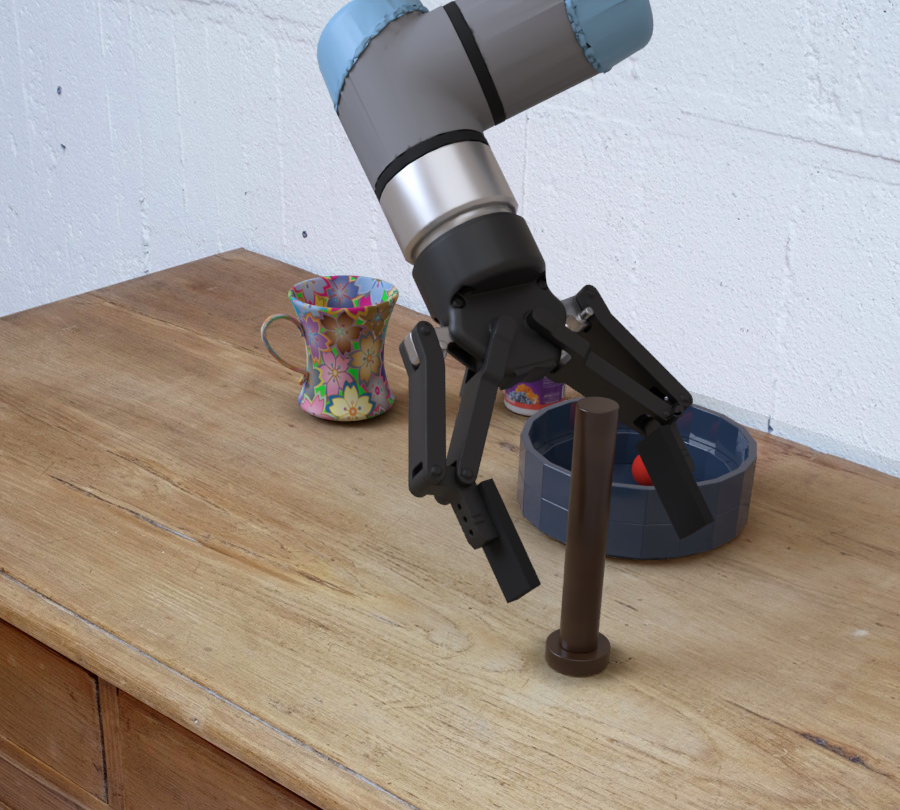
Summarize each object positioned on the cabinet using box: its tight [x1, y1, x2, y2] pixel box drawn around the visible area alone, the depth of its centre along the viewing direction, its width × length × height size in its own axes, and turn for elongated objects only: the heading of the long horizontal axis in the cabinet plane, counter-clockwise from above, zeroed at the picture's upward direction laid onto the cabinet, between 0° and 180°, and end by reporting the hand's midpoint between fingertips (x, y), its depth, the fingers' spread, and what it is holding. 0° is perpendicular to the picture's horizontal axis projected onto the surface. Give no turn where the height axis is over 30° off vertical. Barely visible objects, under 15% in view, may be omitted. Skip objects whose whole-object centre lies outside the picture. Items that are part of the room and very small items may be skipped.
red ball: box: [632, 455, 654, 486], centre depth 101 cm, size 3×3×3 cm
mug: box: [260, 274, 400, 422], centre depth 113 cm, size 12×9×11 cm
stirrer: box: [544, 397, 619, 678], centre depth 78 cm, size 4×4×17 cm
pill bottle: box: [503, 295, 568, 417], centre depth 115 cm, size 5×5×10 cm
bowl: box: [516, 396, 758, 561], centre depth 98 cm, size 17×17×6 cm
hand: (614, 561), depth 76 cm, fingers open, 13 cm apart
